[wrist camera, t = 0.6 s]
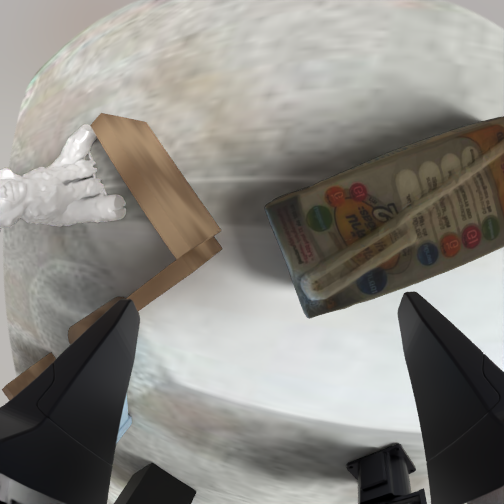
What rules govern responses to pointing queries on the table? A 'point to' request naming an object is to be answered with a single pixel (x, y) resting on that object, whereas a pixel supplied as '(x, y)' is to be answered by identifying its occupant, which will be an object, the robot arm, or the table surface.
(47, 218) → the sitting furry creature
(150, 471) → the black pillar candle
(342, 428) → the table surface
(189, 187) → the pen fence
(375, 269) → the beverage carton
